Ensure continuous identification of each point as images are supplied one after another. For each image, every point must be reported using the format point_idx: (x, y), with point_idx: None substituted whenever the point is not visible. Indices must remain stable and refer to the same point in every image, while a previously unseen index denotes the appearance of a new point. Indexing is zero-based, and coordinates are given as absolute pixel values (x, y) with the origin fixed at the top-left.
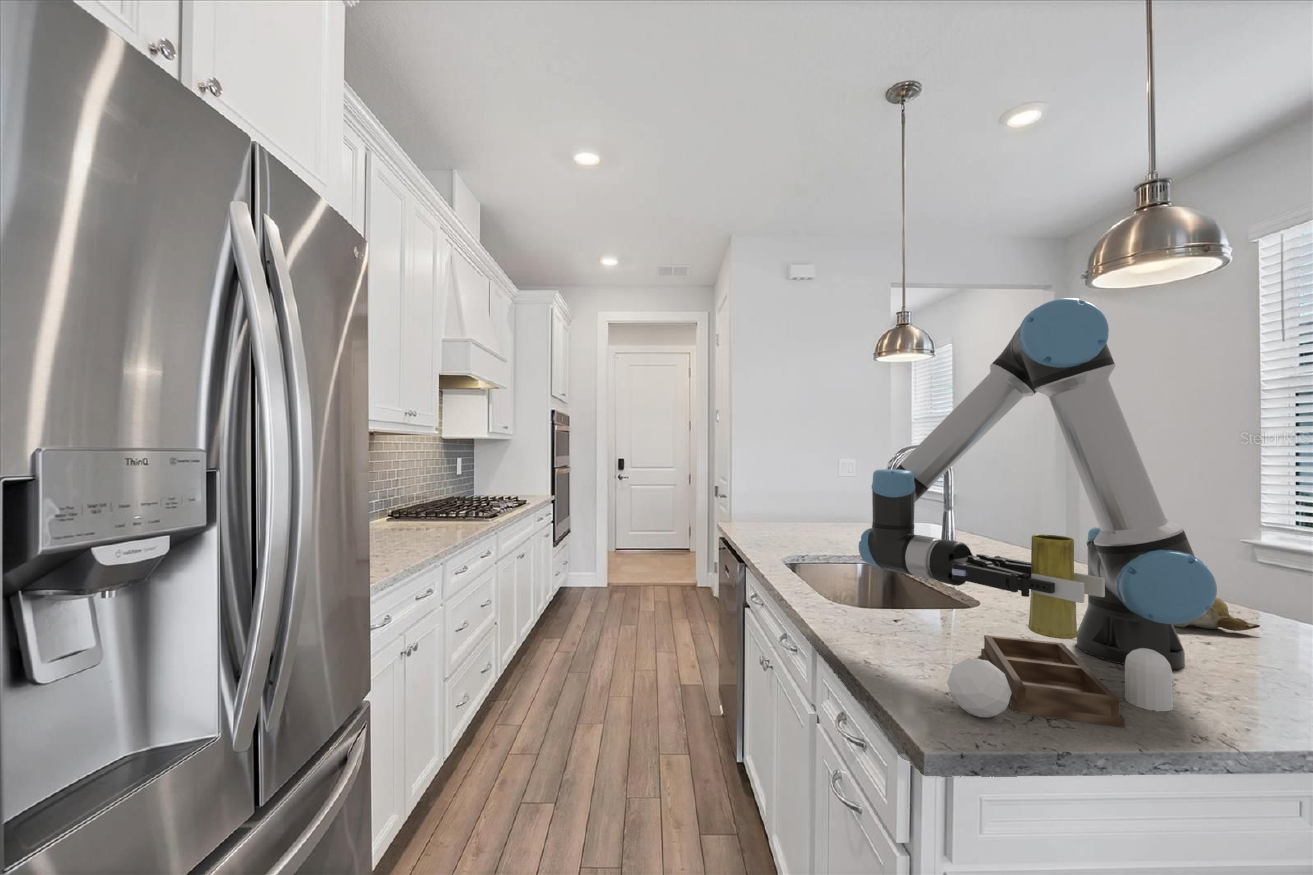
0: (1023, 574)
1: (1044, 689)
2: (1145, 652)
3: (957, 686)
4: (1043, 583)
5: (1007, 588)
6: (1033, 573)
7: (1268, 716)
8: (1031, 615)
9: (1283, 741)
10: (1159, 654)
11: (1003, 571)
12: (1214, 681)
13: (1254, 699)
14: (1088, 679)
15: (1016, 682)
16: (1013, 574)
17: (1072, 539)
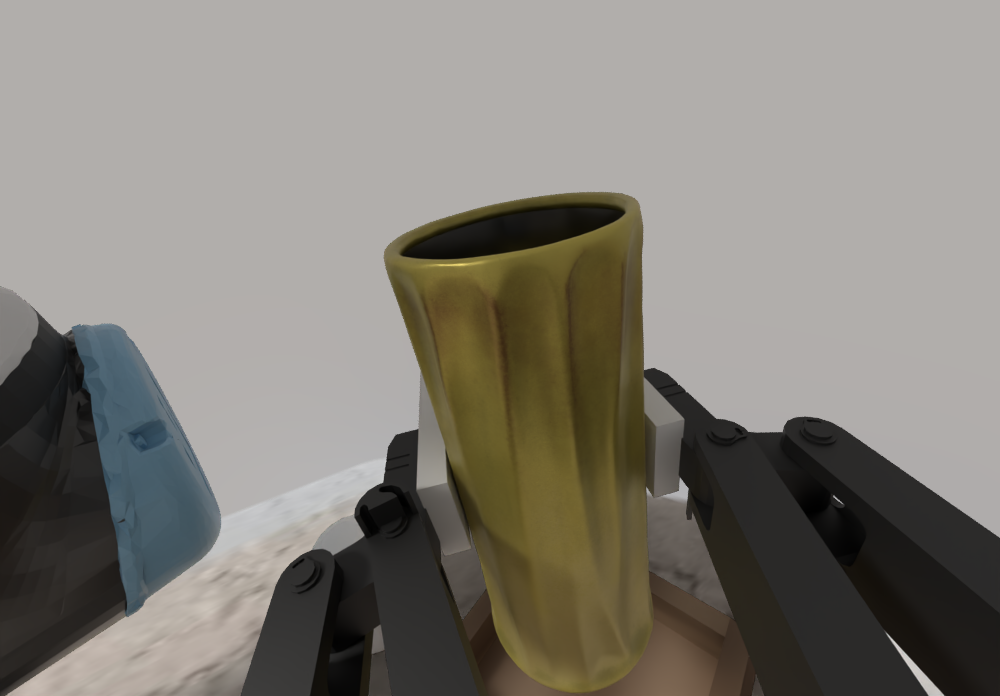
0: (738, 425)
1: (680, 590)
2: (358, 531)
3: None
4: (675, 384)
5: (839, 505)
6: (644, 443)
7: (287, 517)
8: (626, 621)
9: (379, 468)
10: (341, 521)
11: (839, 576)
12: (114, 652)
13: (206, 564)
14: (478, 637)
15: (743, 657)
16: (820, 425)
17: (473, 209)
